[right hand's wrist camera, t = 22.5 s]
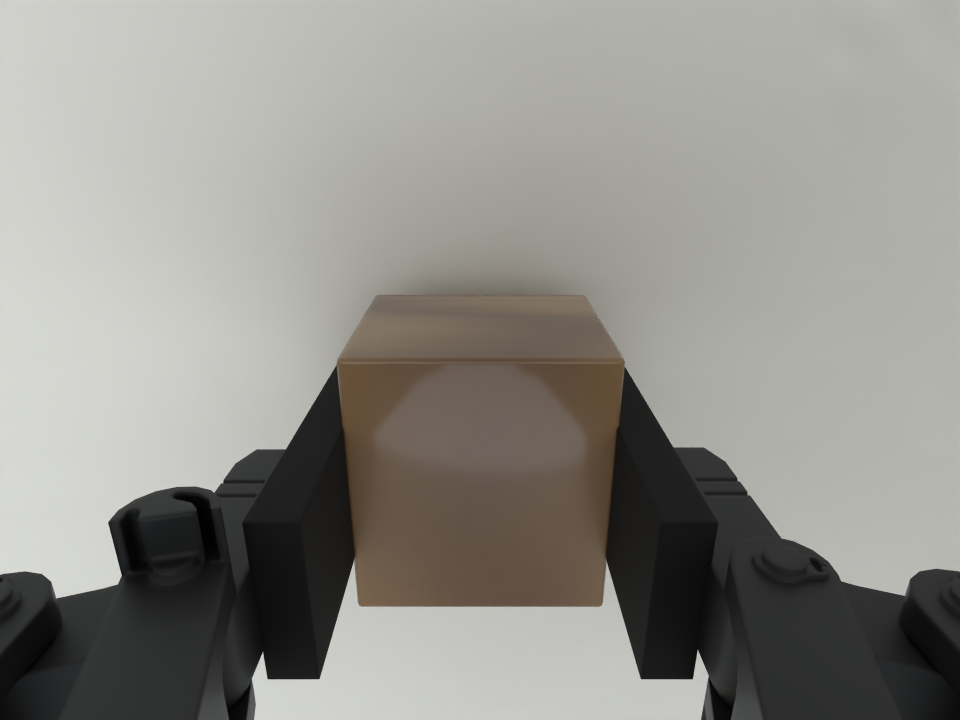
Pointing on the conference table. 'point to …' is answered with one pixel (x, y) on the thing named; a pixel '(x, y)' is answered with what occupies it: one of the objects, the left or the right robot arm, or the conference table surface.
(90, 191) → the conference table surface
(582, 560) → the brown cardboard box
